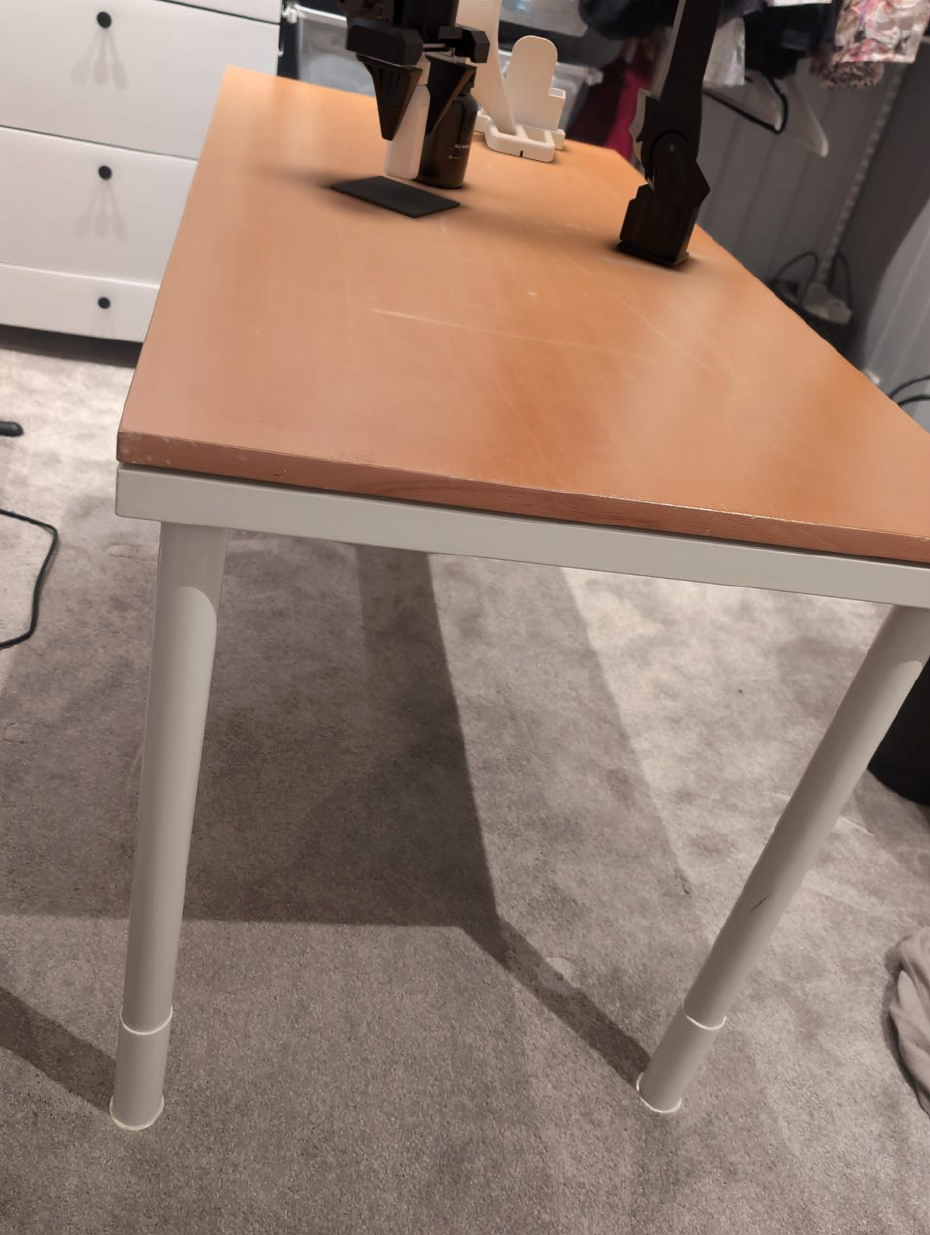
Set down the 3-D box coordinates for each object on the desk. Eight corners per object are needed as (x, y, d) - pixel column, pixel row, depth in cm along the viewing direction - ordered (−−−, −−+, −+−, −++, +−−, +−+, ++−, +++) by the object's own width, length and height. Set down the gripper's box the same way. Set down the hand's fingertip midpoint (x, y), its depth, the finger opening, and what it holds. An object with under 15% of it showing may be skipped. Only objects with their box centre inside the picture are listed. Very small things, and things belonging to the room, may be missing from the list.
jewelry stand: (559, 144, 152) (606, -51, 138) (569, 167, 140) (622, -46, 126) (393, 107, 149) (424, -97, 135) (388, 127, 136) (422, -96, 122)
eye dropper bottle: (433, 178, 107) (455, 50, 100) (400, 181, 102) (421, 48, 96) (400, 166, 108) (420, 39, 101) (367, 169, 104) (385, 36, 97)
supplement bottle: (462, 193, 114) (485, 75, 107) (402, 179, 113) (421, 59, 107) (463, 180, 120) (485, 66, 113) (406, 167, 119) (425, 52, 112)
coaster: (459, 205, 109) (460, 203, 109) (414, 217, 101) (414, 214, 101) (380, 178, 112) (380, 175, 112) (329, 188, 104) (330, 185, 104)
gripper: (409, -55, 104) (386, 111, 113) (305, -72, 90) (287, 120, 98) (506, -30, 101) (474, 139, 110) (415, -43, 86) (386, 153, 95)
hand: (407, 137), depth 103 cm, fingers closed on eye dropper bottle, 8 cm apart
